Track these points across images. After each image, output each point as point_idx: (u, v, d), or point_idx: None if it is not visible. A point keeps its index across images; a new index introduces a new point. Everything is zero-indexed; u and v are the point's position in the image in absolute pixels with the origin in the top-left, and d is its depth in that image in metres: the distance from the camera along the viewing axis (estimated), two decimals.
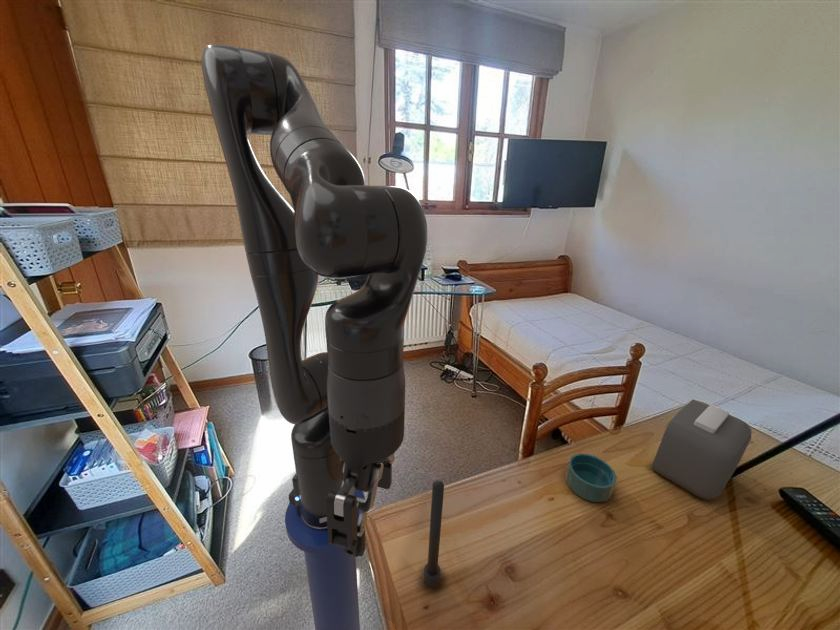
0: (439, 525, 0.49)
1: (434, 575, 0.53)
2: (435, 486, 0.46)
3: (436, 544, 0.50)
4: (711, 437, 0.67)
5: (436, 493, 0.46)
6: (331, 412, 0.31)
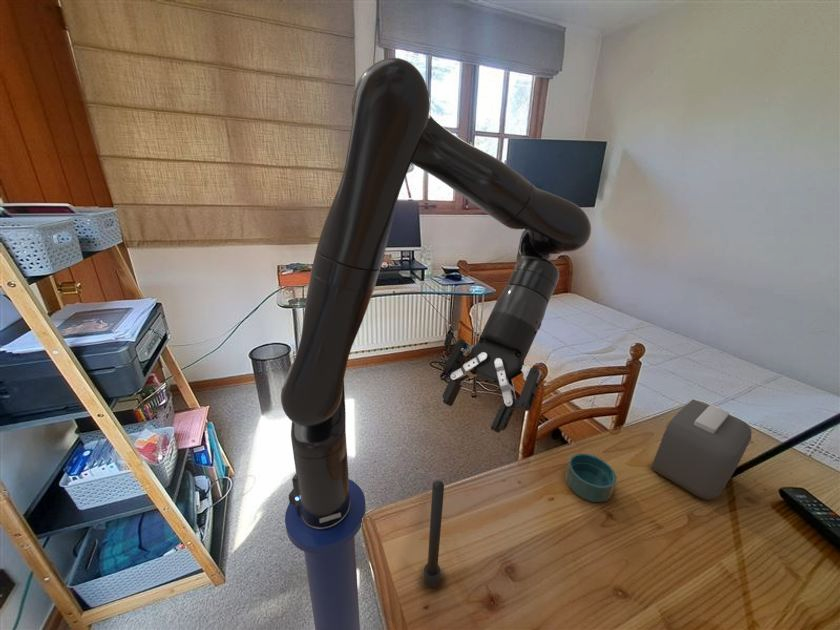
0: (439, 525, 0.49)
1: (434, 575, 0.53)
2: (435, 486, 0.46)
3: (436, 544, 0.50)
4: (711, 437, 0.67)
5: (436, 493, 0.46)
6: (528, 319, 0.49)
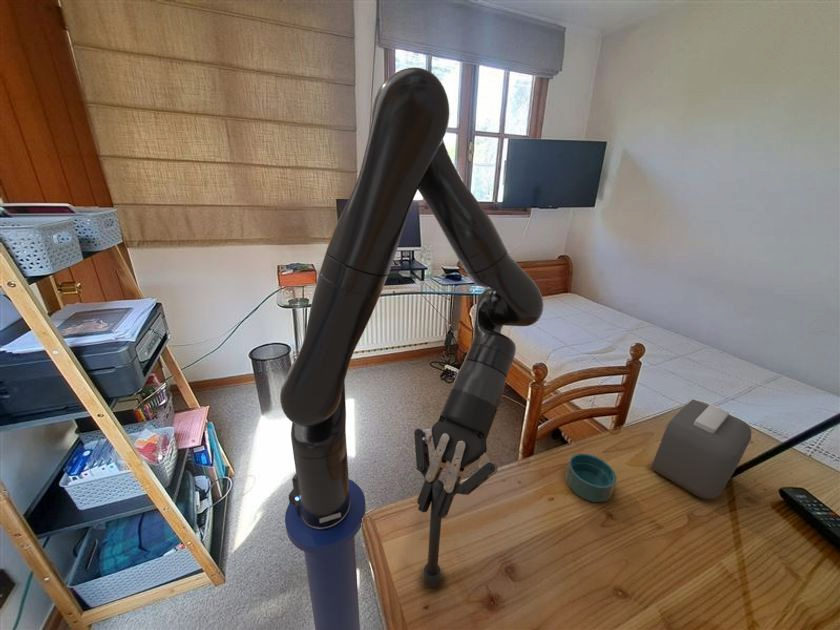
0: (439, 525, 0.49)
1: (434, 575, 0.53)
2: (435, 486, 0.46)
3: (436, 544, 0.50)
4: (711, 437, 0.67)
5: (436, 493, 0.46)
6: (489, 398, 0.48)
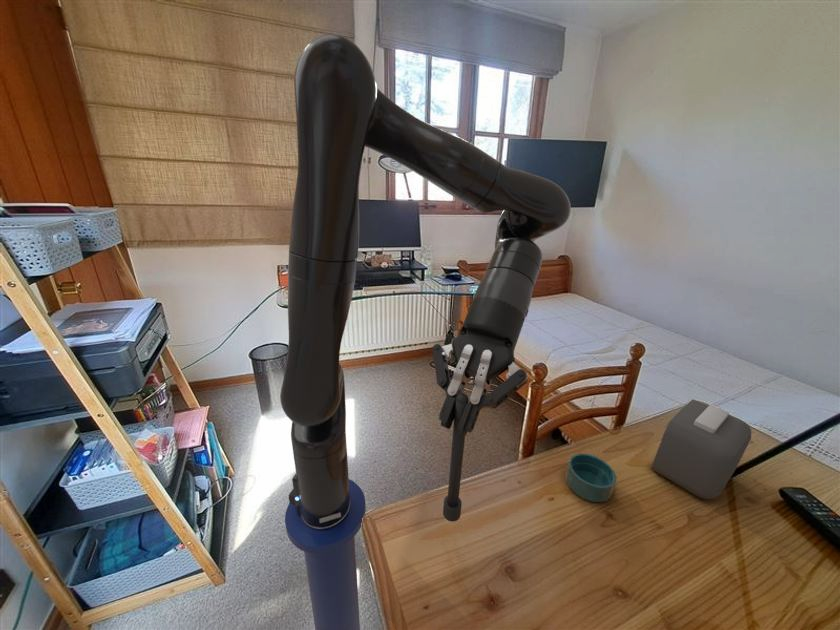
0: (462, 446, 0.44)
1: (455, 507, 0.48)
2: (459, 398, 0.41)
3: (458, 469, 0.46)
4: (711, 437, 0.67)
5: (460, 406, 0.42)
6: (517, 304, 0.43)
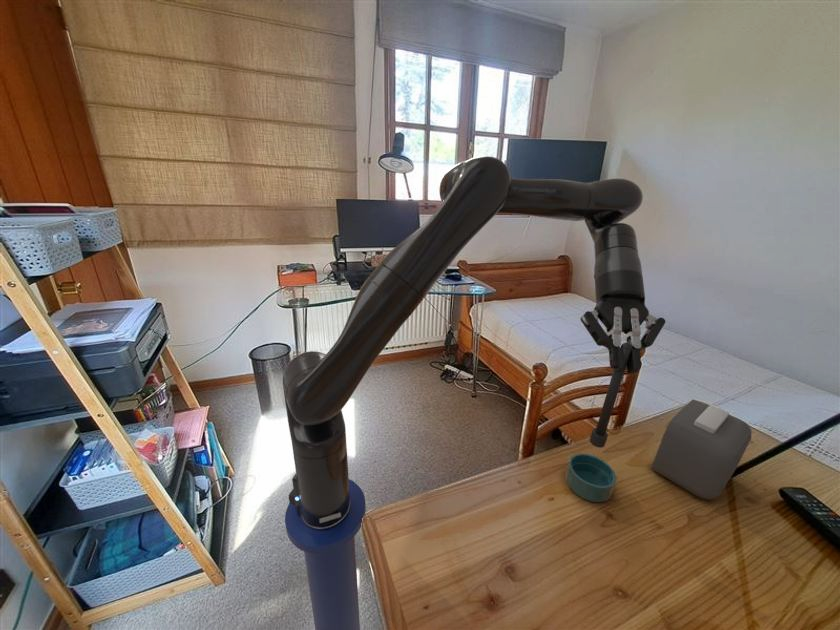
0: (620, 384, 0.58)
1: (604, 435, 0.62)
2: (627, 346, 0.55)
3: (614, 403, 0.60)
4: (712, 437, 0.67)
5: (628, 352, 0.55)
6: (641, 272, 0.59)
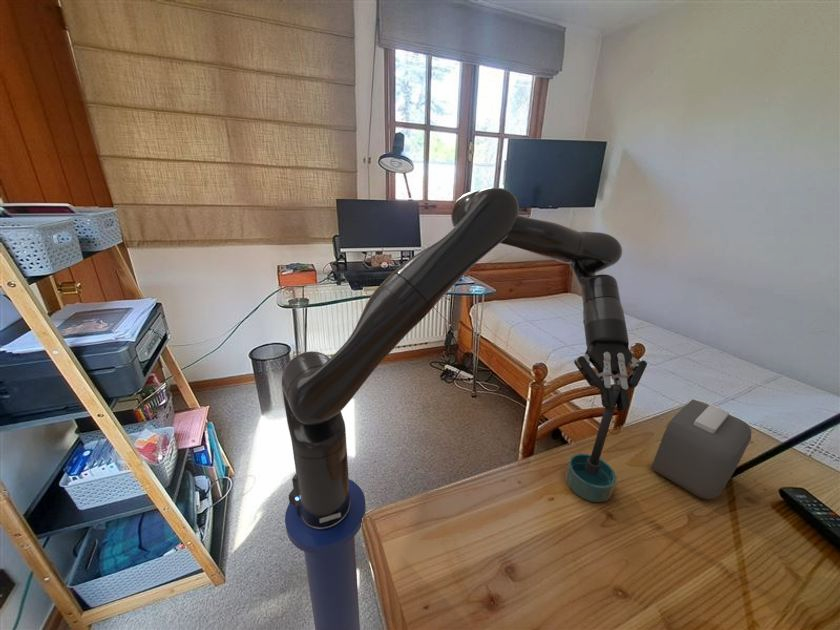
0: (611, 419, 0.66)
1: (597, 464, 0.70)
2: (616, 388, 0.63)
3: (605, 436, 0.67)
4: (711, 437, 0.67)
5: (617, 393, 0.63)
6: (624, 319, 0.67)
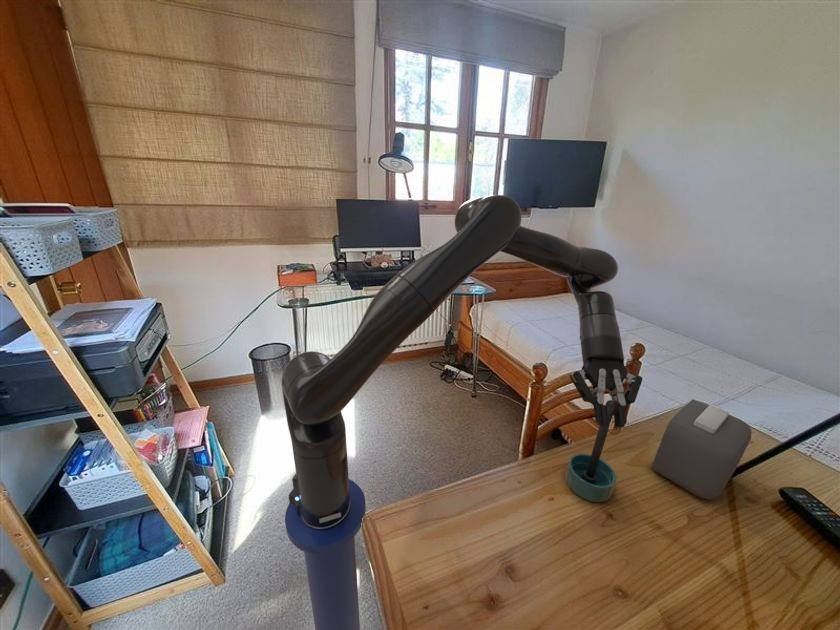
0: (606, 434, 0.67)
1: (593, 477, 0.71)
2: (611, 404, 0.64)
3: (601, 450, 0.68)
4: (711, 437, 0.67)
5: (612, 409, 0.64)
6: (620, 336, 0.68)
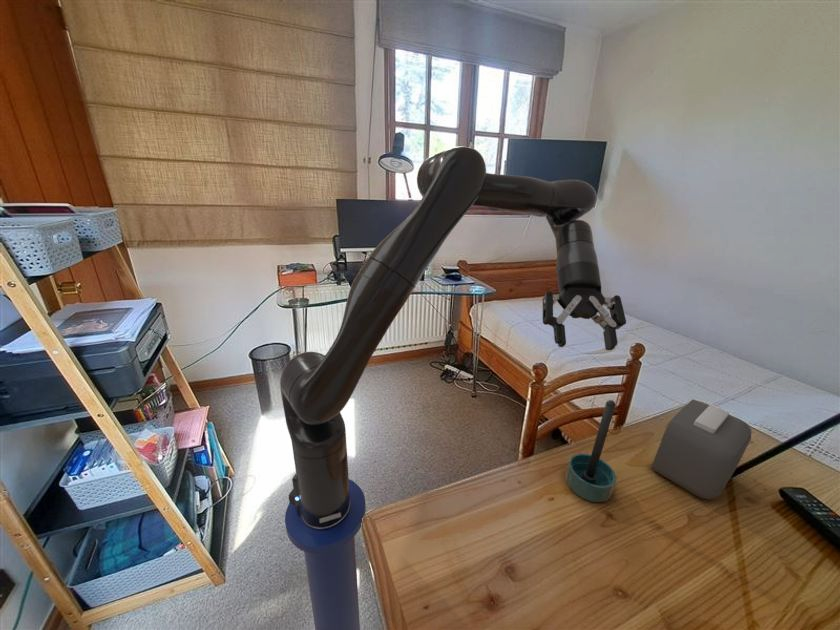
0: (606, 434, 0.67)
1: (593, 477, 0.71)
2: (611, 404, 0.64)
3: (601, 450, 0.68)
4: (711, 437, 0.67)
5: (612, 409, 0.64)
6: (597, 263, 0.65)
